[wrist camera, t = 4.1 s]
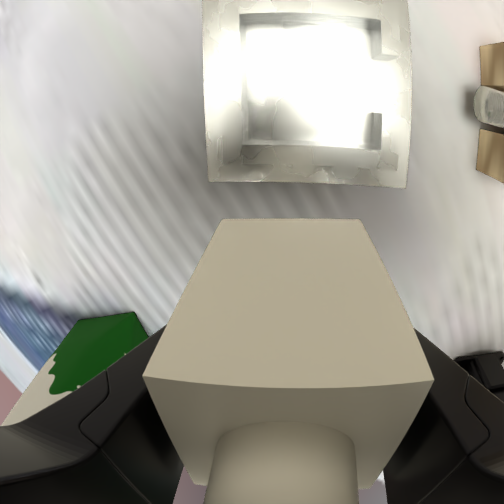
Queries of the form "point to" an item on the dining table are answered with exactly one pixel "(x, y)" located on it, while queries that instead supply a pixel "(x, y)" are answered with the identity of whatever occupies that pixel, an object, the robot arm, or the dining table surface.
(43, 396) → the milk carton
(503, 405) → the robot arm
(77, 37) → the dining table surface
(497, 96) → the pin
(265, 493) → the spigot
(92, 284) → the dining table surface
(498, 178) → the mount
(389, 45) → the socket
